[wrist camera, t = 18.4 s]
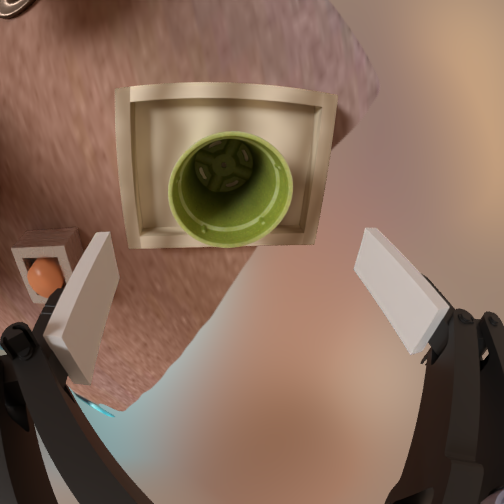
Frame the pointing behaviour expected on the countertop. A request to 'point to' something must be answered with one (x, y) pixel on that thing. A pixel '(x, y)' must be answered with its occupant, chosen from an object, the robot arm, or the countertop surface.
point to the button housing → (48, 253)
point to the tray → (210, 122)
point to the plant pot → (230, 189)
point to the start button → (45, 276)
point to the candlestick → (13, 7)
